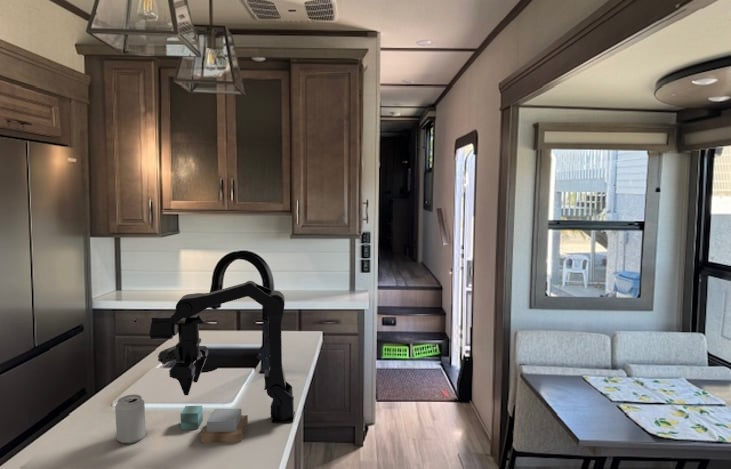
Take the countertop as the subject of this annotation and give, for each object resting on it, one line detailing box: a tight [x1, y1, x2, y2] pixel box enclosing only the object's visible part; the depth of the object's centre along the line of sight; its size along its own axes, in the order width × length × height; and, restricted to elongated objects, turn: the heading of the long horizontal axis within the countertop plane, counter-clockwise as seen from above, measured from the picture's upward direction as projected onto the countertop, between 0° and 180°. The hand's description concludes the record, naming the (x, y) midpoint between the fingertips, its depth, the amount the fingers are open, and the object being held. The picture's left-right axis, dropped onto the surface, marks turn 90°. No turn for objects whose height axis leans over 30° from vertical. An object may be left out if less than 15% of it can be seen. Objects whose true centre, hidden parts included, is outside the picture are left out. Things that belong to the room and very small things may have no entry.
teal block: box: [180, 405, 204, 430], centre depth 150 cm, size 5×5×5 cm
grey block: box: [206, 408, 242, 432], centre depth 145 cm, size 8×8×3 cm
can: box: [114, 393, 147, 445], centre depth 142 cm, size 8×8×12 cm
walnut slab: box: [200, 414, 249, 444], centre depth 146 cm, size 11×11×3 cm
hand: (191, 388), depth 149 cm, fingers open, 9 cm apart
